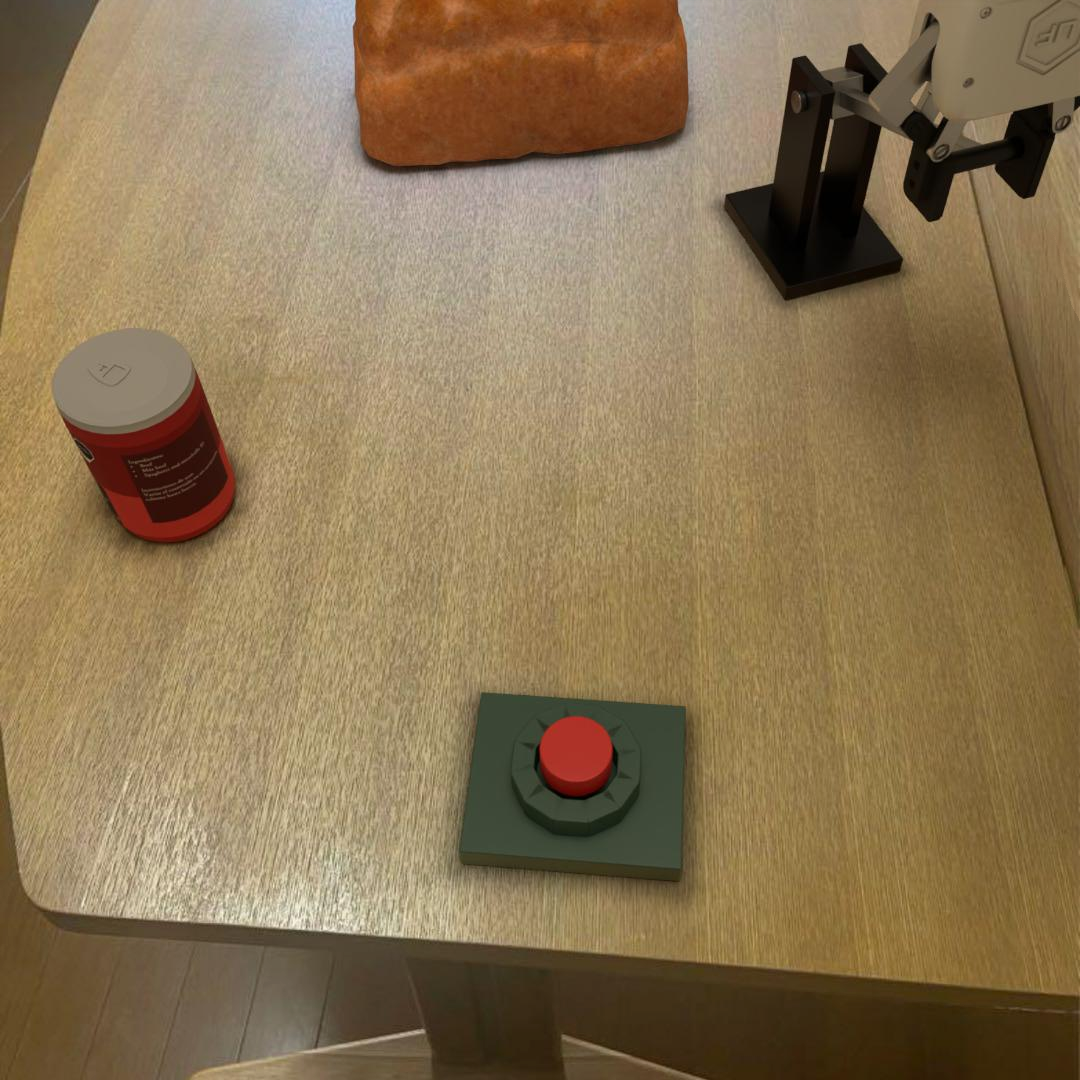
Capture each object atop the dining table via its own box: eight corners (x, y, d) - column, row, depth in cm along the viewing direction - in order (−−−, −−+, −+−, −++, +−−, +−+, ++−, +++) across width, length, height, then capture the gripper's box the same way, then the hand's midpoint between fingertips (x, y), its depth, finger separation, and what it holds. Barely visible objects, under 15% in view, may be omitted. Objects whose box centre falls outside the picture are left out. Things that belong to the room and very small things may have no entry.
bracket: (900, 271, 85) (947, 100, 74) (785, 300, 84) (815, 130, 73) (831, 181, 92) (866, 10, 80) (723, 206, 90) (743, 37, 79)
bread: (359, 80, 101) (327, -106, 89) (666, 52, 103) (677, -136, 90) (363, 182, 93) (329, -8, 81) (696, 150, 94) (713, -42, 82)
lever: (1022, 171, 66) (1027, 128, 64) (941, 191, 65) (944, 147, 64) (860, 99, 80) (861, 61, 79) (792, 114, 79) (792, 77, 78)
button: (614, 734, 61) (614, 718, 59) (609, 799, 59) (610, 784, 57) (543, 729, 61) (542, 713, 60) (537, 794, 59) (536, 779, 58)
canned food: (141, 443, 78) (84, 318, 69) (256, 460, 77) (213, 335, 68) (92, 536, 73) (24, 415, 64) (213, 555, 72) (161, 435, 63)
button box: (683, 720, 65) (688, 689, 62) (679, 881, 59) (684, 855, 57) (483, 706, 66) (478, 675, 63) (461, 864, 60) (455, 837, 57)
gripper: (939, -75, 49) (861, 271, 64) (1291, -146, 52) (1139, 201, 66) (855, -150, 53) (800, 190, 68) (1184, -212, 56) (1063, 127, 71)
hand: (968, 192), depth 67 cm, fingers closed on lever, 5 cm apart
